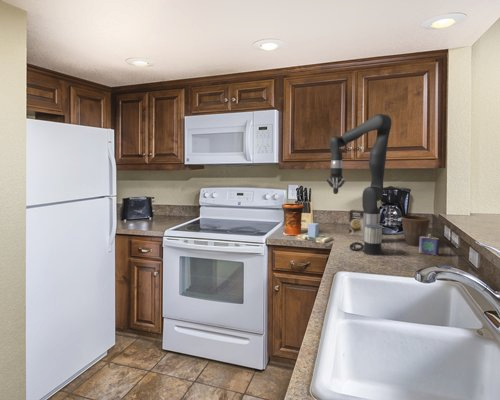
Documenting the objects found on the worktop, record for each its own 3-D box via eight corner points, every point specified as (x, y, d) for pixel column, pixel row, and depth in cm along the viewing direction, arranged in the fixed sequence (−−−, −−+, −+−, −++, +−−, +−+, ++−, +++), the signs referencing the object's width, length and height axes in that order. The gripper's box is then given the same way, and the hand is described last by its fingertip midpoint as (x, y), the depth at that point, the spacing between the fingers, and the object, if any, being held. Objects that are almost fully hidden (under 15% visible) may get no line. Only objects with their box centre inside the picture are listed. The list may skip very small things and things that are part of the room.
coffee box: (348, 234, 229) (349, 210, 227) (350, 233, 234) (351, 209, 233) (362, 236, 224) (363, 211, 223) (364, 234, 230) (365, 210, 228)
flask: (418, 253, 182) (419, 233, 181) (419, 252, 184) (420, 232, 183) (438, 256, 177) (439, 235, 175) (438, 255, 179) (440, 234, 178)
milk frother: (383, 256, 177) (384, 227, 175) (351, 254, 180) (352, 226, 178) (378, 249, 191) (379, 222, 189) (348, 247, 194) (349, 221, 192)
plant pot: (425, 249, 191) (427, 220, 189) (397, 245, 200) (398, 218, 198) (430, 244, 203) (432, 217, 201) (403, 240, 212) (404, 214, 210)
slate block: (318, 236, 214) (319, 223, 213) (315, 237, 210) (315, 224, 209) (311, 235, 217) (311, 222, 216) (307, 236, 213) (308, 223, 212)
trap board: (332, 239, 214) (332, 236, 214) (324, 243, 205) (324, 239, 205) (306, 235, 225) (306, 232, 225) (297, 238, 216) (297, 235, 216)
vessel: (281, 235, 225) (281, 205, 223) (281, 231, 239) (282, 202, 238) (303, 236, 224) (304, 205, 222) (302, 232, 238) (303, 203, 236)
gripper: (324, 167, 227) (323, 193, 229) (343, 167, 219) (342, 194, 220) (329, 167, 233) (328, 192, 234) (348, 167, 224) (347, 194, 226)
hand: (335, 193), depth 227 cm, fingers closed
